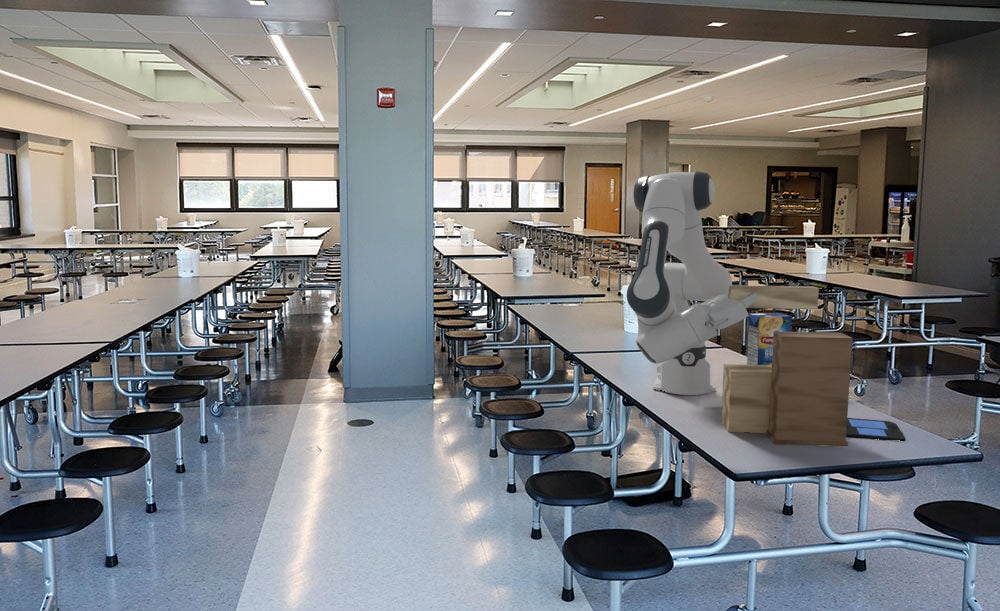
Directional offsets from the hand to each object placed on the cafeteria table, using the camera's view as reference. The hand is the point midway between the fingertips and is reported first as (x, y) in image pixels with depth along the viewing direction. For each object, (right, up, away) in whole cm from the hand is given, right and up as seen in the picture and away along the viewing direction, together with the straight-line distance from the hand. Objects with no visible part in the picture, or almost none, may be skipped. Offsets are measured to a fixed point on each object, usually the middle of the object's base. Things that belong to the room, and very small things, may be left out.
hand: (754, 294), depth 185 cm
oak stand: (+8, -34, +13) cm, 37 cm away
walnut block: (+14, -35, +4) cm, 38 cm away
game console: (+32, -35, +11) cm, 49 cm away
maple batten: (+4, -3, 0) cm, 5 cm away
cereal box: (+25, -28, +64) cm, 74 cm away
